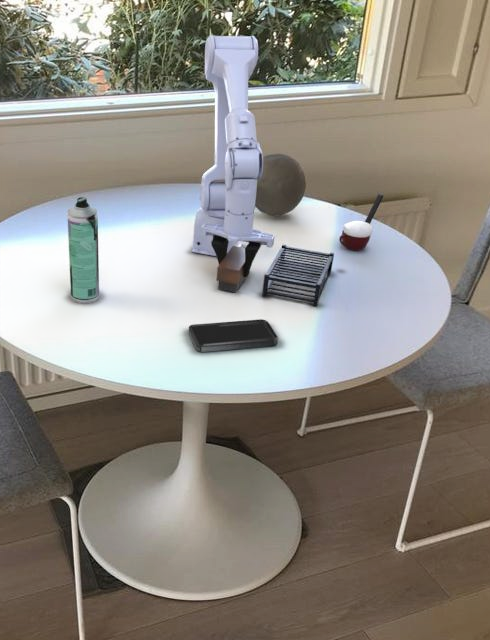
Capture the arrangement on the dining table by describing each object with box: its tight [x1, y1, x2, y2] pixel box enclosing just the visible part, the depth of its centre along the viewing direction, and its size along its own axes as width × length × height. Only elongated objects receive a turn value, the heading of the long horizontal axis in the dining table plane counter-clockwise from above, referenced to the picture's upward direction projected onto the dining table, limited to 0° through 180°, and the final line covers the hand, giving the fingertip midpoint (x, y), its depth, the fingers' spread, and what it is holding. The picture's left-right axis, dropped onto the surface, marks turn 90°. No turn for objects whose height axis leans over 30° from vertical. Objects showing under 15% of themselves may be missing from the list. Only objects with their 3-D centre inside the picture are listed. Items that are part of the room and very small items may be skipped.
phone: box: [188, 318, 279, 353], centre depth 138 cm, size 8×1×15 cm
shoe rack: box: [261, 243, 335, 308], centre depth 156 cm, size 11×16×5 cm
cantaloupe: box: [255, 153, 307, 217], centre depth 185 cm, size 14×14×15 cm
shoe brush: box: [216, 246, 246, 293], centre depth 156 cm, size 4×11×5 cm, turn 161°
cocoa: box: [338, 192, 384, 251], centre depth 171 cm, size 10×6×12 cm, turn 95°
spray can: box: [67, 196, 100, 304], centre depth 144 cm, size 6×6×20 cm
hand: (234, 273), depth 157 cm, fingers closed on shoe brush, 4 cm apart
